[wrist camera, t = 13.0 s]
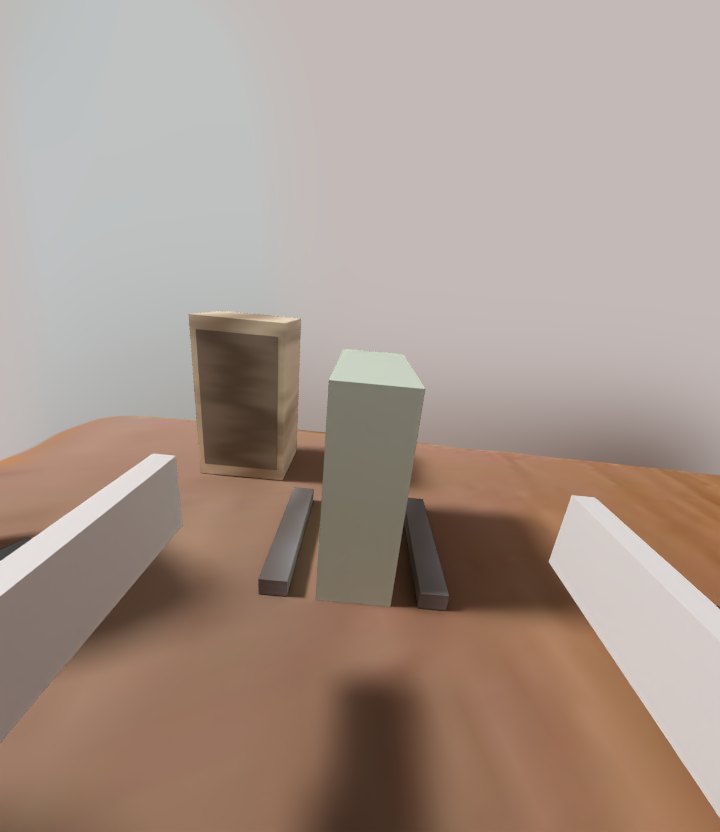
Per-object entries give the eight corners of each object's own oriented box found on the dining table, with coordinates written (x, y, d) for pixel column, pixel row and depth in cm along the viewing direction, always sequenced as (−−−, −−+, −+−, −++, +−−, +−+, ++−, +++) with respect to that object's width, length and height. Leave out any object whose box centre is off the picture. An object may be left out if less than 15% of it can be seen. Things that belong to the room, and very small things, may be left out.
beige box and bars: (408, 460, 34) (428, 330, 30) (445, 610, 18) (502, 370, 14) (228, 443, 34) (222, 311, 30) (98, 579, 18) (43, 326, 13)
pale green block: (383, 507, 26) (403, 354, 22) (390, 606, 18) (425, 388, 14) (332, 502, 26) (343, 348, 22) (315, 600, 18) (328, 379, 14)
